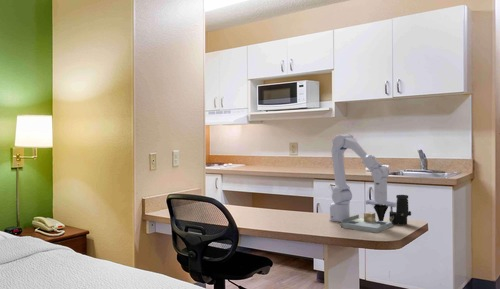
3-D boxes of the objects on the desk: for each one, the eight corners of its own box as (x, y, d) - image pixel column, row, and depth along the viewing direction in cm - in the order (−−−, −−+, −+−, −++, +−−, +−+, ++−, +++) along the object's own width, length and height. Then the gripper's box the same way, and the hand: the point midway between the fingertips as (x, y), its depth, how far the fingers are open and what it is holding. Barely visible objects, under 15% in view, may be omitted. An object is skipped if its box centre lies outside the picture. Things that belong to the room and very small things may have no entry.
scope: (389, 193, 205) (410, 194, 201) (389, 221, 205) (411, 222, 202) (388, 196, 197) (411, 197, 194) (389, 225, 198) (411, 226, 194)
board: (341, 227, 196) (341, 219, 196) (357, 221, 208) (357, 214, 207) (376, 232, 184) (376, 224, 183) (392, 226, 195) (392, 218, 195)
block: (363, 221, 198) (363, 213, 198) (367, 219, 201) (367, 211, 201) (371, 222, 195) (371, 214, 195) (375, 221, 198) (375, 212, 198)
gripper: (362, 192, 195) (362, 220, 196) (391, 194, 185) (392, 224, 186) (369, 190, 200) (369, 217, 201) (398, 192, 191) (398, 221, 191)
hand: (381, 220), depth 194 cm, fingers closed
